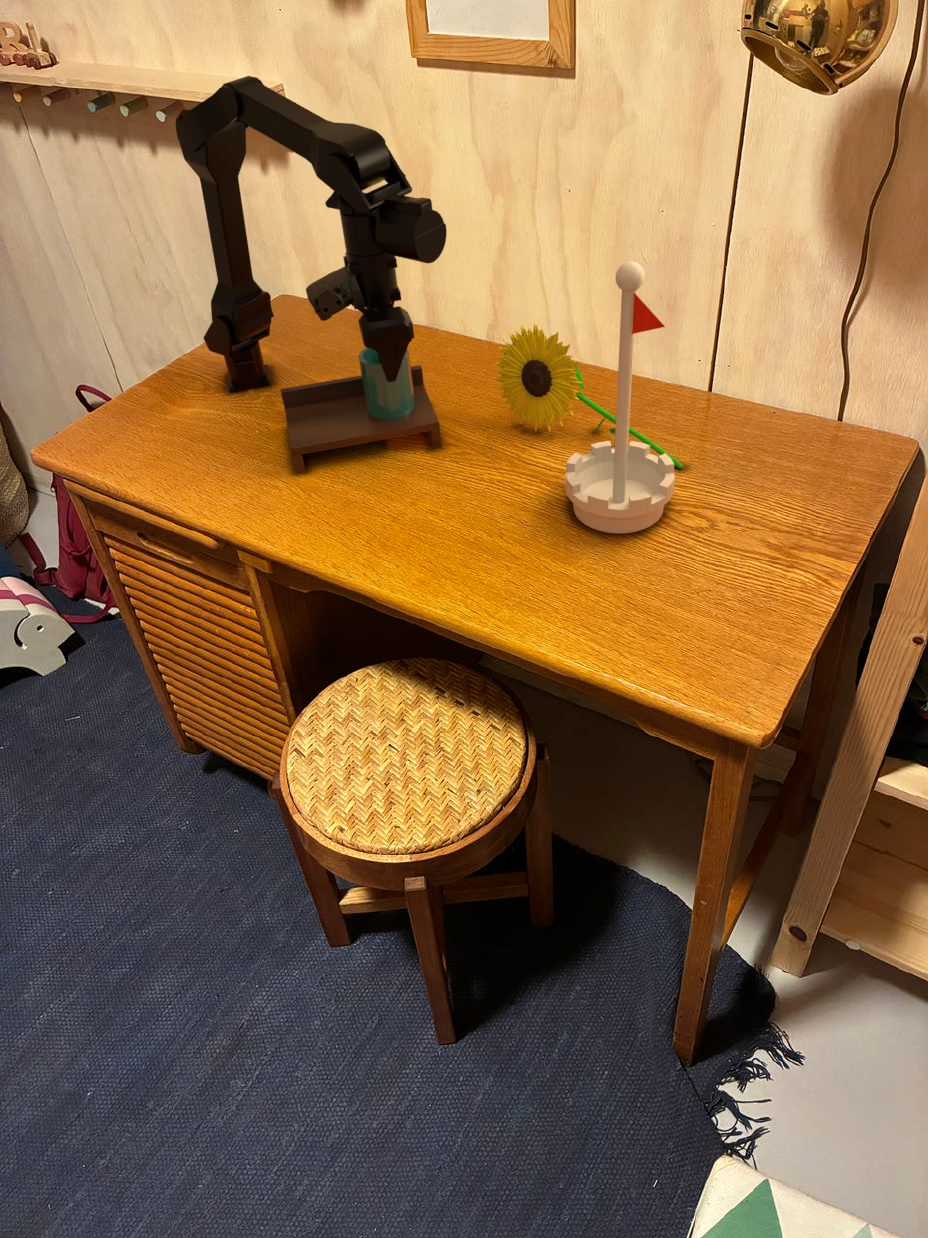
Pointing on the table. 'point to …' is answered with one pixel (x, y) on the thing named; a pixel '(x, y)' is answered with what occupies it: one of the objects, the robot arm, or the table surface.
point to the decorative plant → (546, 382)
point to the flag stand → (622, 442)
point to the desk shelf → (349, 417)
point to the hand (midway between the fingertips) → (386, 365)
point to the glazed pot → (386, 387)
